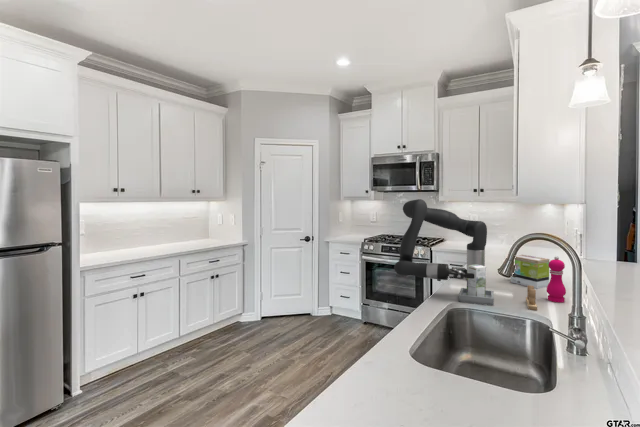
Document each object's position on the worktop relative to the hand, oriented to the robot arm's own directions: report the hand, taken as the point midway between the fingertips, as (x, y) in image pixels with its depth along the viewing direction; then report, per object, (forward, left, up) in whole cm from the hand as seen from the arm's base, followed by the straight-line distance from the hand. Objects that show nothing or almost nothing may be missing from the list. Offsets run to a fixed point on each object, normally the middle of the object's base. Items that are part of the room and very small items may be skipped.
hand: (474, 274), depth 160 cm
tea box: (-40, +25, -12) cm, 49 cm away
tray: (0, +1, -11) cm, 12 cm away
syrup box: (0, +1, -11) cm, 11 cm away
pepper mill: (-12, +33, -12) cm, 37 cm away
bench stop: (0, +22, -11) cm, 25 cm away
